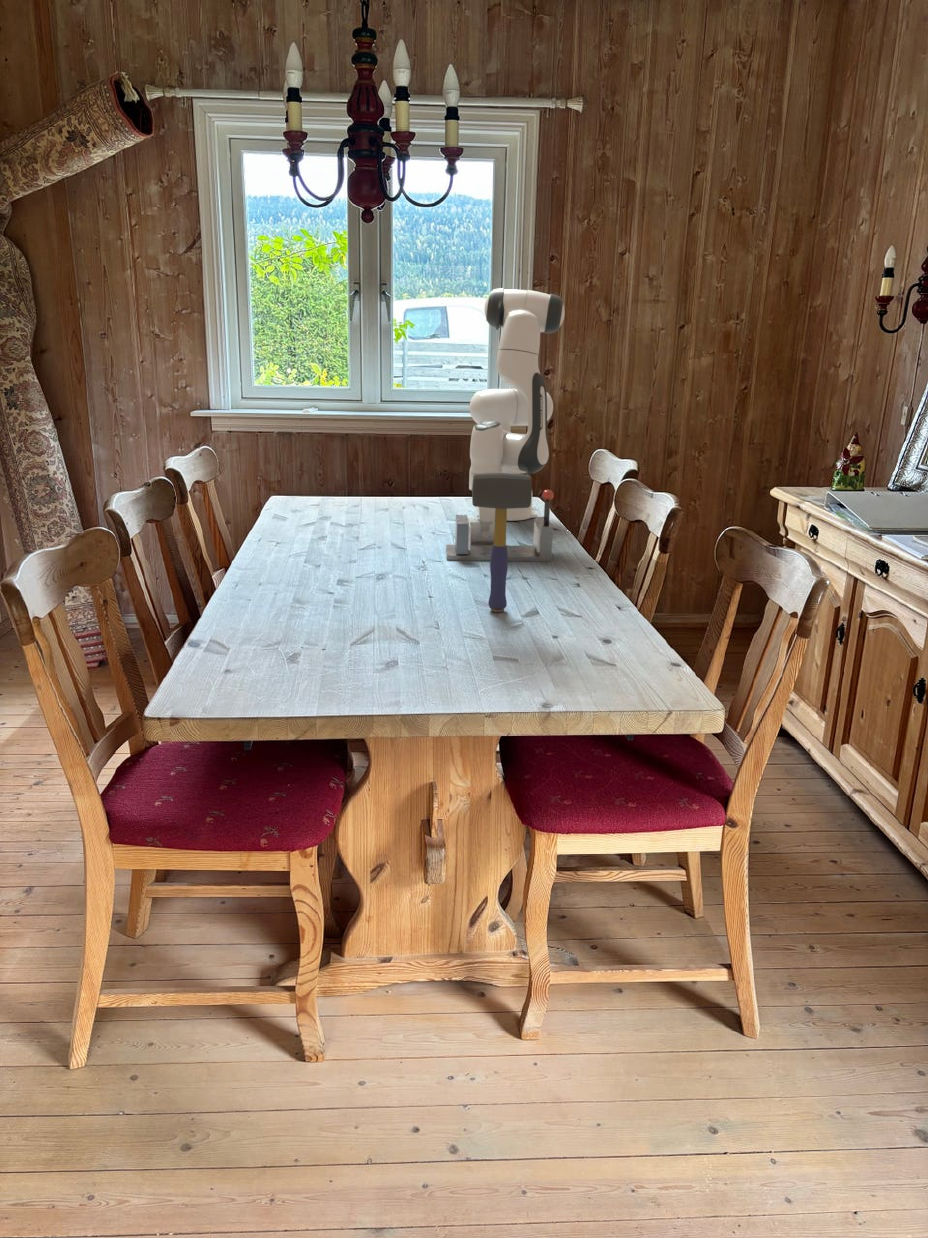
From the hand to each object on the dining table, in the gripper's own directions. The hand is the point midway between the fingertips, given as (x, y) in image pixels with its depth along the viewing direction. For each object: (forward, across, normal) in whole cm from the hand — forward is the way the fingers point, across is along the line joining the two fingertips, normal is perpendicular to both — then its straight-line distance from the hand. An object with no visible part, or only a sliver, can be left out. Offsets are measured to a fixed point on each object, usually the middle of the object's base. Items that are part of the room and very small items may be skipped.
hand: (484, 533), depth 268 cm
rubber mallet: (+4, +60, -1) cm, 60 cm away
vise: (+3, +11, +3) cm, 12 cm away
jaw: (+2, +11, -6) cm, 12 cm away
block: (+4, 0, 0) cm, 4 cm away
